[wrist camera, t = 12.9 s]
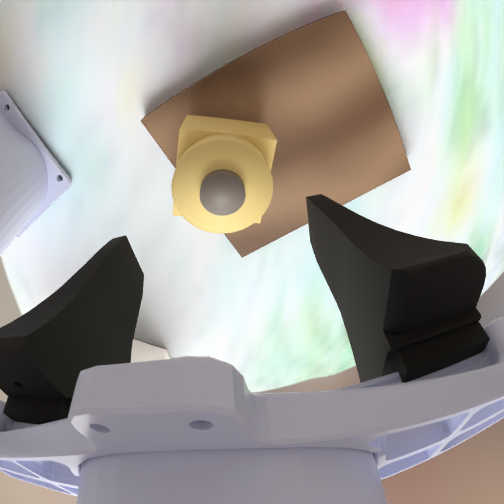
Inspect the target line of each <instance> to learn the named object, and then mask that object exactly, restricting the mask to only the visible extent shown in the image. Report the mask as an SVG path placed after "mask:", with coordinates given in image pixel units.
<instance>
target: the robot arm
mask: <svg viewBox="0 0 504 504" xmlns="http://www.w3.org/2000/svg"><path fill="white" fill-rule="evenodd" d="M7 105H9V110H8V108H7ZM59 175H61V176H62V178H63V180H61V179H60V178H59ZM71 183H72V182H71V179H70V177H69V176H68V175H67V173H66V172H65V171H64V170H63V168H62V167H61V166H60V165H59V163H58V162H57V161H56V159H55V158H54V157H53V156H52V154H51V153H50V152H49V150H48V149H47V148H46V146H45V145H44V144H43V142H42V141H41V140H40V138H39V137H38V136H37V134H36V133H35V132H34V130H33V129H32V128H31V126H30V125H29V123H28V122H27V121H26V119H25V118H24V117H23V115H22V114H21V112H20V111H19V109H18V108H17V107H16V105H15V104H14V102H13V101H12V99H11V98H10V96H9V95H8V93H7V92H6V91H4V90H3V91H0V256H1V255H2V253H3V252H4V251H5V249H6V248H7V247H8V246H9V244H10V243H11V242H12V241H13V239H14V238H15V237H16V236H17V237H19V236H20V235H21V234H22V233H23V232H24V231H25V230H26V229H27V228H28V227H29V226H30V225H31V224H32V223H33V222H34V221H35V220H36V219H37V218H38V217H39V216H40V215H41V214H42V213H43V212H44V211H45V210H46V209H47V208H48V207H49V206H50V205H51V204H52V203H53V202H54V201H55V200H56V199H57V198H58V197H59V196H60V195H62V194H63V193H64V192H65V191H66V190H67V189H68V188H69V187H70V186H71ZM306 204H307V213H308V223H309V233H310V242H311V245H312V248H313V251H314V254H315V257H316V260H317V263H318V265H319V267H320V269H321V271H322V273H323V275H324V277H325V279H326V281H327V284H328V286H329V288H330V290H331V292H332V294H333V296H334V298H335V300H336V302H337V305H338V307H339V310H340V312H341V315H342V318H343V321H344V325H345V328H346V331H347V334H348V338H349V341H350V344H351V348H352V351H353V355H354V359H355V362H356V366H357V370H358V373H359V378H360V382H361V383H358V384H354V385H350V386H347V387H343V388H339V389H335V390H331V391H316V392H292V393H251V392H250V391H249V390H248V388H247V385H246V383H245V380H244V378H243V376H242V375H241V374H240V373H239V372H238V371H237V370H236V369H235V368H234V367H233V366H232V365H231V364H229V363H226V362H223V361H220V360H217V359H214V358H211V357H198V356H185V357H177V358H169V359H161V360H152V361H143V362H134V363H131V352H132V343H133V337H134V332H135V328H136V323H137V318H138V314H139V309H140V304H141V300H142V294H143V281H144V274H143V272H142V270H141V267H140V265H139V263H138V261H137V259H136V257H135V254H134V252H133V250H132V248H131V246H130V243H129V241H128V239H127V236H122V237H118V238H114V239H112V240H110V241H109V242H108V243H107V244H106V245H104V246H103V247H102V248H101V249H100V250H99V251H98V252H97V253H96V254H95V255H94V256H93V257H92V258H91V259H90V260H89V261H88V262H87V263H86V264H85V265H84V266H83V267H82V268H81V269H80V270H78V271H77V272H76V273H75V274H74V275H73V276H72V277H71V278H70V279H69V280H68V281H67V282H66V283H65V284H64V285H62V286H61V287H60V288H59V289H58V290H57V291H55V292H54V293H53V294H52V295H51V296H49V297H48V298H47V299H45V300H44V301H43V302H41V303H40V304H38V305H37V306H36V307H34V308H33V309H32V310H30V311H29V312H27V313H26V314H24V315H22V316H21V317H19V318H17V319H16V320H14V321H13V322H11V323H9V324H7V325H5V326H3V327H1V328H0V389H1V390H2V391H3V392H4V393H5V394H6V395H8V399H7V402H4V401H2V400H0V471H2V472H3V473H5V474H7V475H9V476H10V477H13V478H16V479H19V480H22V481H25V482H28V483H32V484H35V485H39V486H42V487H45V488H48V489H52V490H55V491H59V492H62V493H66V494H70V495H73V496H77V504H387V501H386V497H385V493H384V489H383V486H382V483H381V480H382V479H384V478H387V477H389V476H392V475H394V474H397V473H399V472H401V471H404V470H406V469H409V468H411V467H413V466H416V465H418V464H420V463H422V462H424V461H426V460H429V459H431V458H433V457H435V456H437V455H439V454H441V453H443V452H444V451H446V450H448V449H450V448H452V447H454V446H456V445H458V444H460V443H461V442H463V441H465V440H467V439H469V438H470V437H472V436H474V435H476V434H477V433H479V432H481V431H483V430H484V429H486V428H488V427H489V426H491V425H493V424H494V423H496V422H497V421H499V420H500V419H503V418H504V316H502V317H500V318H498V319H496V320H494V321H492V322H490V323H489V324H488V325H486V327H485V328H484V329H483V327H482V326H481V324H480V323H479V320H480V319H481V314H480V313H479V312H478V310H477V309H476V305H477V303H478V300H479V297H480V295H481V292H482V289H483V286H484V282H485V278H486V267H485V265H484V263H483V261H482V260H481V259H480V257H479V256H478V255H477V254H476V253H475V252H474V251H473V250H472V249H471V248H470V247H469V245H468V244H463V243H454V242H445V241H438V240H433V239H427V238H422V237H418V236H414V235H410V234H407V233H403V232H400V231H397V230H394V229H391V228H388V227H386V226H383V225H380V224H378V223H376V222H373V221H371V220H369V219H367V218H365V217H363V216H361V215H359V214H357V213H355V212H353V211H351V210H349V209H347V208H346V207H344V206H342V205H340V204H339V203H337V202H335V201H333V200H332V199H330V198H328V197H326V196H324V195H322V194H318V195H313V196H308V197H306Z"/></svg>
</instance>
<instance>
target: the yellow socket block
mask: <svg viewBox="0 0 504 504" xmlns="http://www.w3.org/2000/svg"><path fill="white" fill-rule="evenodd" d="M276 144H277V139H276V137H275V136H274V134H273V133H272V131H271V129H270V128H269V126H268V125H267V124H263V123H256V122H249V121H242V120H234V119H225V118H216V117H207V116H196V115H187V116H186V117H185V119H184V121H183V123H182V125H181V127H180V129H179V138H178V149H177V161H176V170H175V172H174V176H173V179H172V196H173V200H174V204H173V215H175V216H183V217H184V218H185V219H186V220H187V221H188V222H189V223H190V224H192V225H193V226H195V227H197V228H199V229H201V230H204V231H207V232H212V233H232V232H236V231H240V230H242V229H245V228H247V227H249V226H250V225H252V224H253V223H260V222H261V217H262V215H263V214H264V213H265V211H266V210H267V208H268V206H269V204H270V202H271V199H272V195H273V179H272V175H271V168H272V163H273V158H274V154H275V149H276Z"/></svg>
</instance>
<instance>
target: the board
mask: <svg viewBox="0 0 504 504" xmlns="http://www.w3.org/2000/svg"><path fill="white" fill-rule="evenodd" d="M187 115H196V116H207V117H216V118H225V119H234V120H242V121H249V122H256V123H263V124H267V125H268V126H269V128H270V129H271V131H272V133H273V134H274V136H275V137H276V139H277V144H276V149H275V154H274V158H273V163H272V168H271V175H272V179H273V195H272V199H271V202H270V204H269V206H268V208H267V210H266V211H265V213H264V214H263V215H262V217H261V222H260V223H253V224H252V225H250V226H249V227H247V228H245V229H242V230H240V231H236V232H232V233H224V234H225V236H226V237H227V238H228V240H229V241H230V242H231V244H232V245H233V246H234V248H235V249H236V250H237V252H238V253H239V254H240V256H241V257H244V256H246V255H248V254H250V253H252V252H254V251H256V250H258V249H259V248H261V247H263V246H265V245H267V244H269V243H271V242H273V241H275V240H277V239H279V238H281V237H283V236H284V235H286V234H288V233H290V232H292V231H294V230H296V229H298V228H300V227H302V226H304V225H306V224H307V223H308V213H307V204H306V197H308V196H313V195H318V194H322V195H324V196H326V197H328V198H330V199H332V200H333V201H335V202H337V203H339V204H340V205H344V204H346V203H348V202H350V201H352V200H354V199H355V198H357V197H359V196H361V195H363V194H365V193H367V192H369V191H371V190H373V189H375V188H377V187H378V186H380V185H382V184H384V183H386V182H388V181H390V180H392V179H394V178H396V177H398V176H400V175H402V174H403V173H405V172H407V171H409V170H411V169H410V165H409V162H408V159H407V156H406V152H405V149H404V146H403V143H402V140H401V137H400V134H399V131H398V128H397V125H396V123H395V120H394V117H393V114H392V112H391V109H390V106H389V104H388V101H387V99H386V96H385V94H384V91H383V89H382V86H381V84H380V82H379V79H378V77H377V75H376V72H375V70H374V68H373V65H372V63H371V61H370V59H369V57H368V54H367V52H366V50H365V48H364V46H363V44H362V42H361V40H360V38H359V36H358V34H357V32H356V30H355V28H354V26H353V24H352V22H351V20H350V18H349V17H348V15H347V13H346V11H342V12H338V13H336V14H333V15H330V16H328V17H325V18H323V19H320V20H318V21H315V22H313V23H310V24H308V25H306V26H303V27H301V28H299V29H296V30H294V31H292V32H290V33H287V34H285V35H283V36H281V37H279V38H277V39H275V40H273V41H270V42H268V43H266V44H264V45H262V46H260V47H258V48H256V49H254V50H253V51H251V52H249V53H247V54H245V55H243V56H241V57H239V58H237V59H236V60H234V61H232V62H230V63H228V64H227V65H225V66H223V67H221V68H220V69H218V70H216V71H214V72H213V73H211V74H209V75H208V76H206V77H204V78H203V79H201V80H199V81H198V82H196V83H194V84H193V85H191V86H190V87H188V88H186V89H185V90H183V91H182V92H180V93H179V94H177V95H176V96H174V97H173V98H171V99H170V100H168V101H167V102H165V103H164V104H162V105H161V106H159V107H158V108H156V109H155V110H154V111H152V112H151V113H149V114H148V115H147V116H145V117H144V118H143V119H142V120H141V122H142V123H143V125H144V126H145V127H146V129H147V130H148V132H149V133H150V134H151V136H152V137H153V138H154V140H155V141H156V143H157V144H158V145H159V147H160V148H161V149H162V151H163V152H164V153H165V155H166V156H167V157H168V159H169V160H170V162H171V163H172V164H173V166H174V167H175V168H176V161H177V149H178V138H179V129H180V127H181V125H182V123H183V121H184V119H185V117H186V116H187Z"/></svg>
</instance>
